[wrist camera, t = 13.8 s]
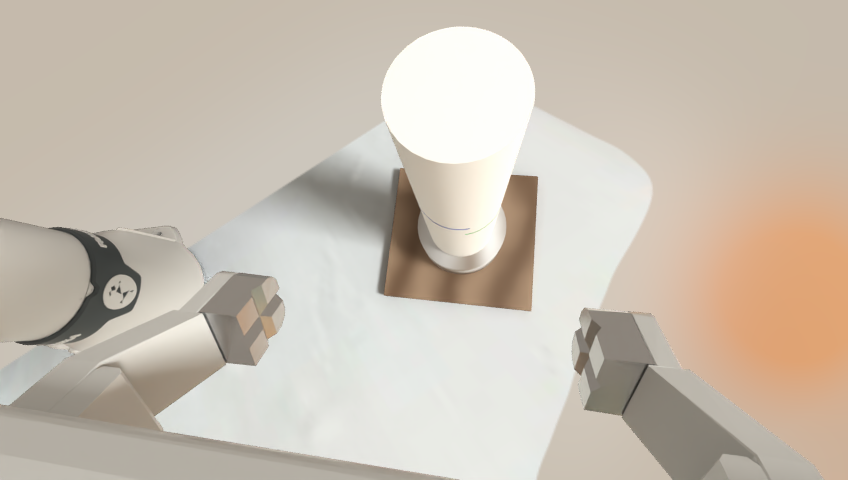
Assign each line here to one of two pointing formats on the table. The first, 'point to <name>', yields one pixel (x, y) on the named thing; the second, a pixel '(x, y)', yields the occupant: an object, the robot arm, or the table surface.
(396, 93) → the cylindrical container
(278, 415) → the table surface
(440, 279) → the base
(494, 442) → the table surface
